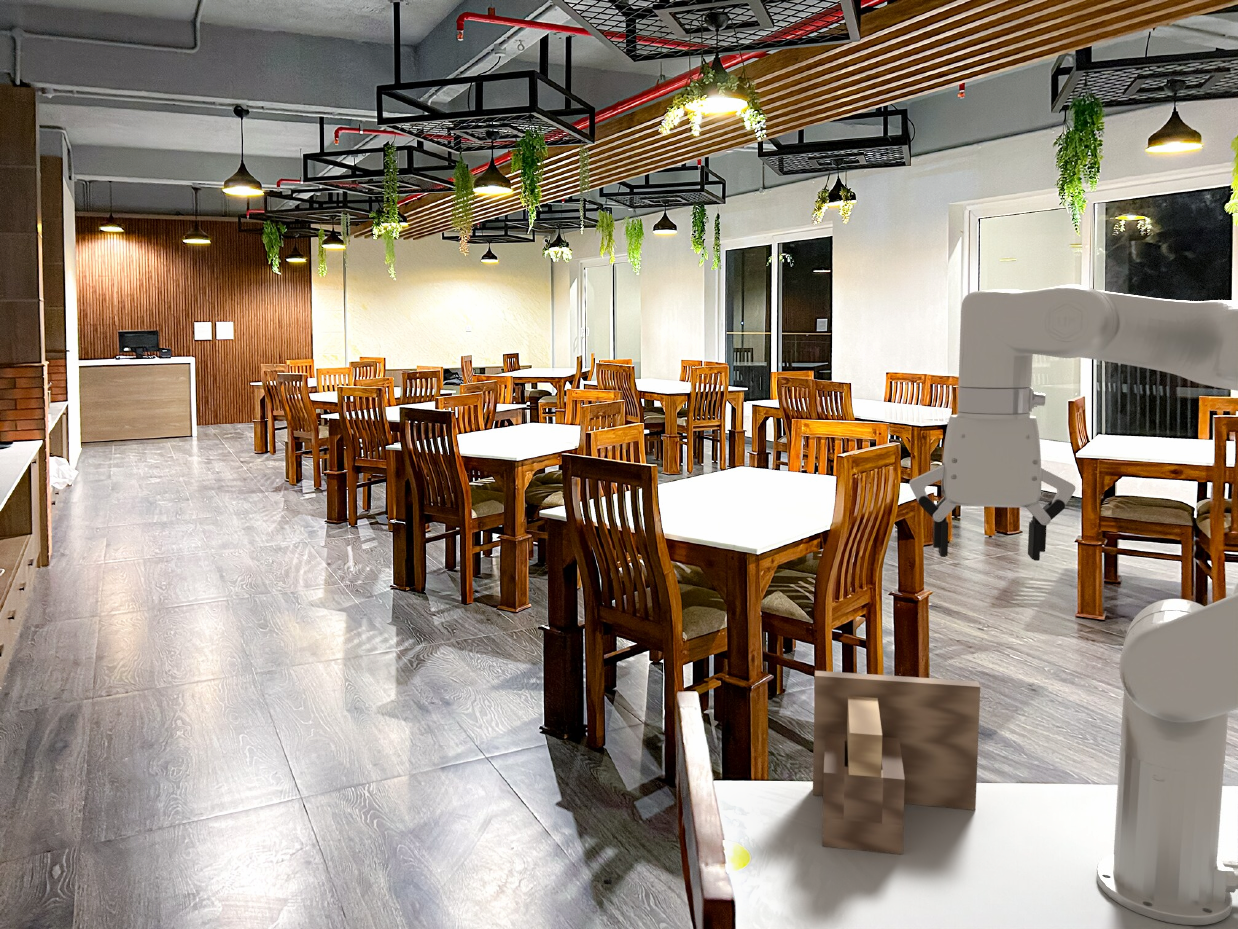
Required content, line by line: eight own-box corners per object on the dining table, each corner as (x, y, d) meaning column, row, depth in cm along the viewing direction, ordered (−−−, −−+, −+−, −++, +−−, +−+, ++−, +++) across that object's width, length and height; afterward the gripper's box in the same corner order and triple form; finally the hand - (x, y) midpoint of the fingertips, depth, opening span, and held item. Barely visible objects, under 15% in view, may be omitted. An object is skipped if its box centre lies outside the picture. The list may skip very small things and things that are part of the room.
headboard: (973, 803, 125) (978, 681, 123) (990, 863, 110) (996, 727, 108) (813, 788, 129) (815, 670, 127) (809, 844, 115) (811, 713, 113)
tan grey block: (875, 774, 124) (877, 698, 123) (880, 819, 112) (882, 735, 111) (846, 771, 125) (847, 696, 123) (847, 816, 113) (849, 733, 112)
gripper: (1070, 402, 110) (1063, 552, 112) (909, 401, 113) (905, 546, 116) (1086, 406, 102) (1078, 567, 104) (914, 405, 106) (909, 560, 108)
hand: (987, 556), depth 110 cm, fingers open, 9 cm apart
